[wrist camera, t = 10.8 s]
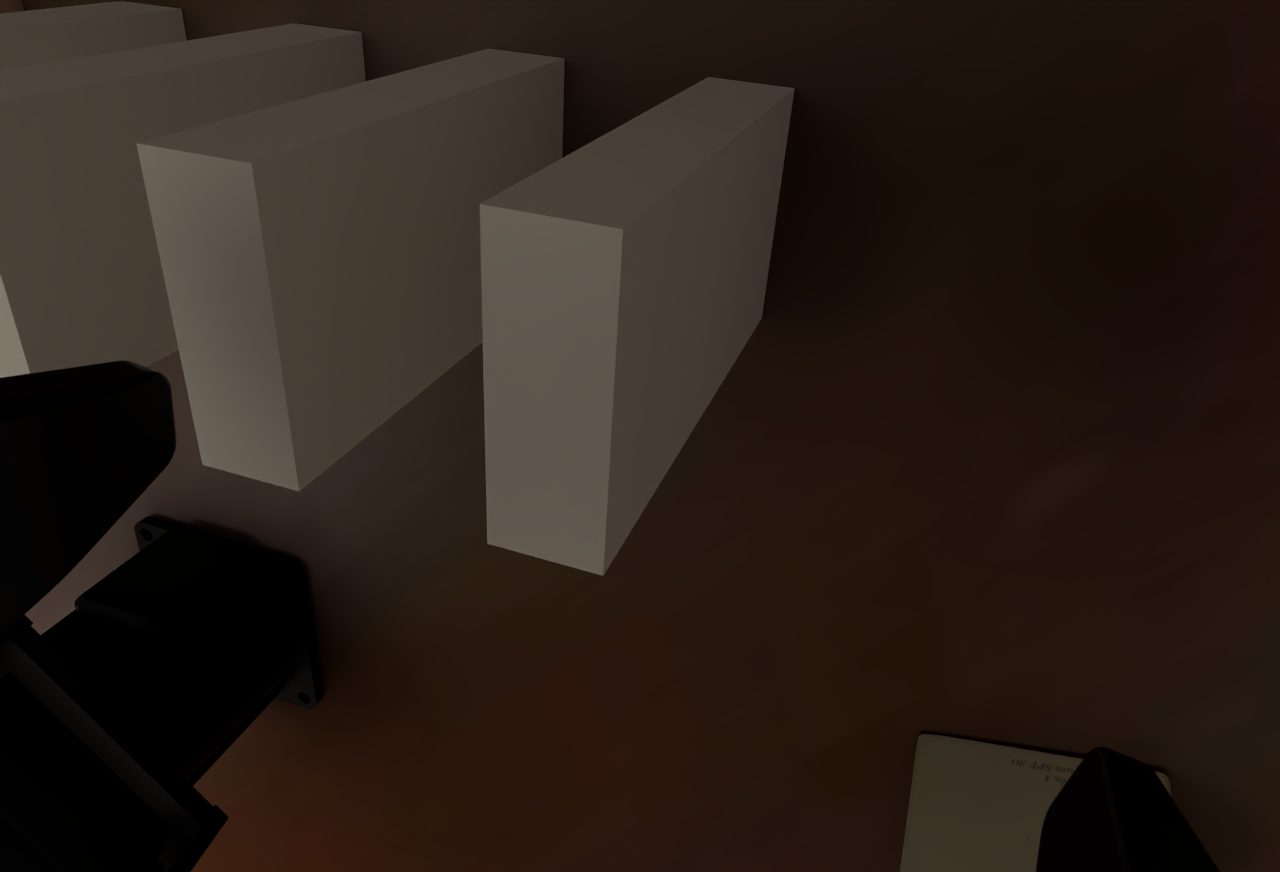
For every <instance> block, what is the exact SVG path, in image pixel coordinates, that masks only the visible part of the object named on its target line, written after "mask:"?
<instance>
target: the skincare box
mask: <svg viewBox="0 0 1280 872" xmlns="http://www.w3.org/2000/svg"><path fill="white" fill-rule="evenodd" d="M1082 760H1083V759H1080V758H1074V757H1068V756H1062V755H1056V754H1050V753H1044V752H1038V751H1032V750H1026V749H1020V748H1014V747H1008V746H1002V745H996V744H990V743H984V742H978V741H973V740H967V739H961V738H954V737H948V736H941V735H933V734H921V735H920V736H919V737H918V742H917V749H916V757H915V764H914V771H913V778H912V786H911V794H910V801H909V809H908V816H907V824H906V832H905V839H904V847H903V854H902V861H901V869H900V872H1036V865H1037V858H1038V851H1039V844H1040V837H1041V831H1042V826H1043V822H1044V819H1045V816H1046V813H1047V811H1048V809H1049V807H1050V805H1051V803H1052V802H1053V800H1054V799H1055V798H1056V796H1057V795H1058V793H1059V792H1060V791H1061V789H1062V788H1063V786H1064V785H1065V784H1066V782H1067V781H1068V780H1069V778H1070V777H1071V775H1072V774H1073V773H1074V771H1075V770H1076V768H1077V767H1078V766H1079V764H1080V763H1081V761H1082ZM1154 772H1155V773H1156V774H1157V775H1158V777H1159V778H1160V780H1161V782H1162V783H1163V785H1164V786H1165V788H1166V789H1167V791H1168V792H1169V794H1170V795H1171V789H1170V782H1169V779H1168V777H1167V776H1166V775H1165V774H1163V773H1160V772H1156V771H1154Z"/></svg>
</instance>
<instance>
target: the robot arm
mask: <svg viewBox="0 0 1280 872" xmlns="http://www.w3.org/2000/svg"><path fill="white" fill-rule="evenodd" d="M175 449H176V430H175V420H174V411H173V401H172V392H171V386H170V383H169V381H168V380H167V378H166V376H164V375H163V374H162V373H160V372H158V371H156V370H153V369H151V368H148V367H146V366H143V365H141V364H138V363H136V362H132V361H126V360H121V361H113V362H106V363H99V364H92V365H85V366H78V367H71V368H64V369H57V370H51V371H44V372H37V373H30V374H23V375H16V376H9V377H2V378H0V872H191V870H192V869H193V867H194V866H195V864H196V863H197V862H198V860H199V859H200V857H201V856H202V855H203V853H204V852H205V850H206V849H207V848H208V846H209V845H210V843H211V842H212V841H213V839H214V838H215V836H216V835H217V833H218V832H219V831H220V829H221V828H222V826H223V825H224V824H225V822H226V821H227V819H228V816H227V815H226V814H225V813H224V812H223V811H222V810H221V809H220V808H219V807H218V806H217V805H215V806H212V805H211V804H210V803H209V802H208V801H207V800H206V799H205V798H204V797H203V796H202V795H201V794H200V793H199V792H198V791H197V790H196V789H195V788H194V787H193V785H194V784H195V783H196V782H197V781H198V780H199V779H200V778H201V777H202V776H203V775H204V774H205V772H206V771H207V770H208V769H209V768H210V767H211V766H212V765H213V764H214V763H215V762H216V761H217V760H218V759H219V757H220V756H221V755H222V754H223V753H224V752H225V751H226V750H227V749H228V748H229V747H230V746H231V745H232V744H233V742H234V741H235V740H236V739H237V738H238V737H239V736H240V735H241V734H242V733H243V732H244V731H245V730H246V729H247V727H248V726H249V725H250V724H251V723H252V722H253V721H254V720H255V719H256V718H257V717H258V716H259V715H260V714H261V712H262V711H263V710H264V709H265V708H266V707H267V706H268V705H269V704H270V703H271V702H272V701H273V700H274V699H275V698H278V699H281V700H283V701H286V702H289V703H292V704H295V705H298V706H301V707H304V708H308V709H312V708H314V707H315V706H316V705H317V704H318V703H319V702H320V701H321V699H322V698H323V690H322V683H321V677H320V670H319V663H318V657H317V650H316V643H315V637H314V630H313V623H312V617H311V610H310V603H309V597H308V590H307V583H306V577H305V572H304V569H303V568H302V566H301V565H300V564H299V563H298V562H297V561H296V560H294V559H292V558H290V557H287V556H283V555H280V554H276V553H273V552H270V551H266V550H263V549H260V548H256V547H253V546H250V545H246V544H243V543H240V542H236V541H233V540H230V539H226V538H223V537H219V536H216V535H213V534H209V533H206V532H203V531H199V530H196V529H193V528H189V527H186V526H183V525H179V524H176V523H172V522H169V521H166V520H162V519H159V518H156V517H152V516H147V517H145V518H144V519H142V520H141V521H139V522H138V523H137V524H136V525H135V527H134V528H135V534H136V538H137V542H138V546H139V550H140V552H139V553H137V554H136V555H134V556H133V557H132V558H130V559H129V560H128V561H126V562H125V563H124V564H122V565H121V566H120V567H118V568H117V569H116V570H114V571H113V572H111V573H110V574H109V575H107V576H106V577H105V578H103V579H102V580H101V581H99V582H98V583H97V584H95V585H94V586H92V587H91V588H90V589H88V590H87V591H86V592H84V593H83V594H82V595H81V596H79V597H78V598H77V599H76V601H75V607H76V609H75V610H74V611H73V612H71V613H70V614H69V615H67V616H66V617H65V618H63V619H62V620H61V621H59V622H58V623H57V624H55V625H54V626H53V627H51V628H50V629H49V630H47V631H46V632H45V633H43V634H42V635H40V634H39V633H38V632H37V631H36V630H35V629H34V628H33V627H32V626H31V625H32V624H33V622H32V621H31V620H30V619H29V618H28V617H26V616H25V615H24V614H25V613H26V612H28V611H29V610H30V609H31V608H32V607H33V606H34V605H35V604H36V603H38V602H39V601H40V600H41V599H42V598H43V597H44V596H45V595H46V594H47V593H49V592H50V591H51V590H52V589H53V588H54V587H55V586H56V585H57V584H58V583H59V582H60V581H61V580H62V579H63V578H64V577H65V576H66V575H67V574H68V573H69V572H70V571H71V570H72V569H73V568H74V567H75V566H76V565H77V564H78V563H79V562H80V561H81V560H82V559H83V558H84V557H85V555H86V554H87V553H88V552H89V551H90V550H91V549H92V548H93V547H94V546H95V544H96V543H97V542H98V541H99V540H100V539H101V538H102V537H103V536H104V535H105V533H106V532H107V531H108V530H109V529H110V528H111V527H112V526H113V525H114V524H115V523H116V521H117V520H118V519H119V518H120V517H121V516H122V515H123V514H124V513H125V512H126V510H127V509H128V508H129V507H130V506H131V505H132V504H133V503H134V502H135V501H136V499H137V498H138V497H139V496H140V495H141V494H142V493H143V492H144V491H145V490H146V489H147V487H148V486H149V485H150V484H151V483H152V482H153V481H154V480H155V479H156V478H157V476H158V475H159V474H160V473H161V472H162V471H163V470H164V469H165V468H166V466H167V465H168V464H169V462H170V461H171V459H172V457H173V455H174V452H175ZM1036 872H1220V871H1219V869H1218V868H1217V866H1216V865H1215V863H1214V862H1213V860H1212V859H1211V857H1210V855H1209V854H1208V852H1207V851H1206V849H1205V848H1204V846H1203V845H1202V843H1201V842H1200V840H1199V839H1198V837H1197V835H1196V834H1195V832H1194V831H1193V829H1192V828H1191V826H1190V825H1189V823H1188V822H1187V820H1186V819H1185V817H1184V815H1183V814H1182V812H1181V811H1180V809H1179V808H1178V806H1177V805H1176V803H1175V802H1174V800H1173V798H1172V797H1171V795H1170V794H1169V792H1168V791H1167V789H1166V788H1165V786H1164V785H1163V783H1162V782H1161V780H1160V778H1159V777H1158V775H1157V774H1156V773H1155V772H1154V770H1153V769H1152V768H1151V767H1150V766H1148V765H1147V764H1145V763H1143V762H1141V761H1139V760H1136V759H1134V758H1131V757H1129V756H1126V755H1124V754H1121V753H1119V752H1116V751H1113V750H1111V749H1108V748H1105V747H1098V748H1094V749H1093V750H1091V751H1090V752H1089V753H1088V754H1087V755H1086V756H1085V757H1084V759H1083V760H1082V761H1081V763H1080V764H1079V766H1078V767H1077V768H1076V770H1075V771H1074V773H1073V774H1072V775H1071V777H1070V778H1069V780H1068V781H1067V782H1066V784H1065V785H1064V786H1063V788H1062V789H1061V791H1060V792H1059V793H1058V795H1057V796H1056V798H1055V799H1054V800H1053V802H1052V803H1051V805H1050V807H1049V809H1048V811H1047V813H1046V816H1045V819H1044V822H1043V826H1042V831H1041V837H1040V844H1039V851H1038V858H1037V865H1036Z"/></svg>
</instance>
